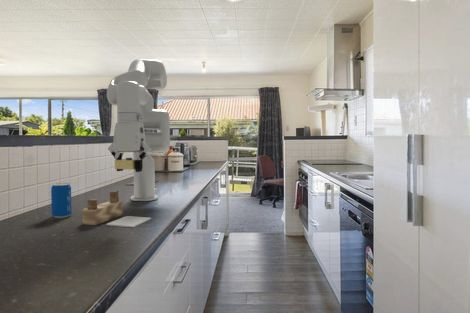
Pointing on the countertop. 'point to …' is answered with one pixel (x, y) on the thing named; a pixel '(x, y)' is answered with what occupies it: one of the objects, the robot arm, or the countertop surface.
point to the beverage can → (61, 200)
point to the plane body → (102, 210)
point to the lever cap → (125, 163)
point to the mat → (129, 221)
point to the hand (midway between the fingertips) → (129, 170)
